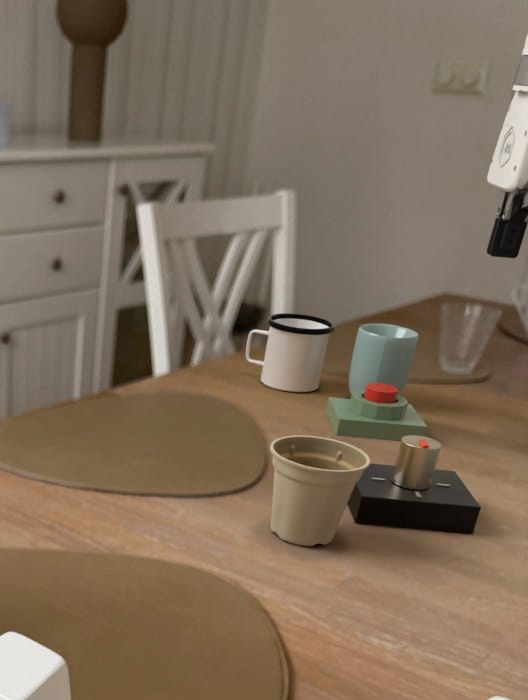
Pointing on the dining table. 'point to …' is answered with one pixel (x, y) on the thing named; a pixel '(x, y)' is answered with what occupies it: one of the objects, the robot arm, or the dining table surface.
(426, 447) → the knob
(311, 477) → the flower pot
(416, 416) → the button housing
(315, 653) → the dining table surface
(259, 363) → the mug
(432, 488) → the dial panel
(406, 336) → the cup
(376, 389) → the button
